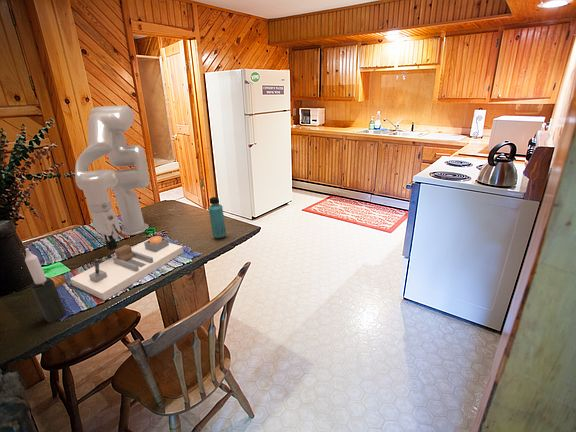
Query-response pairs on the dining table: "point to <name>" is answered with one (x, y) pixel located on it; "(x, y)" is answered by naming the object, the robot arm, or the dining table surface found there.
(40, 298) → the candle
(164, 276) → the dining table surface
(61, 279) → the pastry
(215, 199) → the beverage bottle
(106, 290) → the control panel
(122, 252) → the slider knob
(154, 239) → the push button
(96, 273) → the toggle lever
